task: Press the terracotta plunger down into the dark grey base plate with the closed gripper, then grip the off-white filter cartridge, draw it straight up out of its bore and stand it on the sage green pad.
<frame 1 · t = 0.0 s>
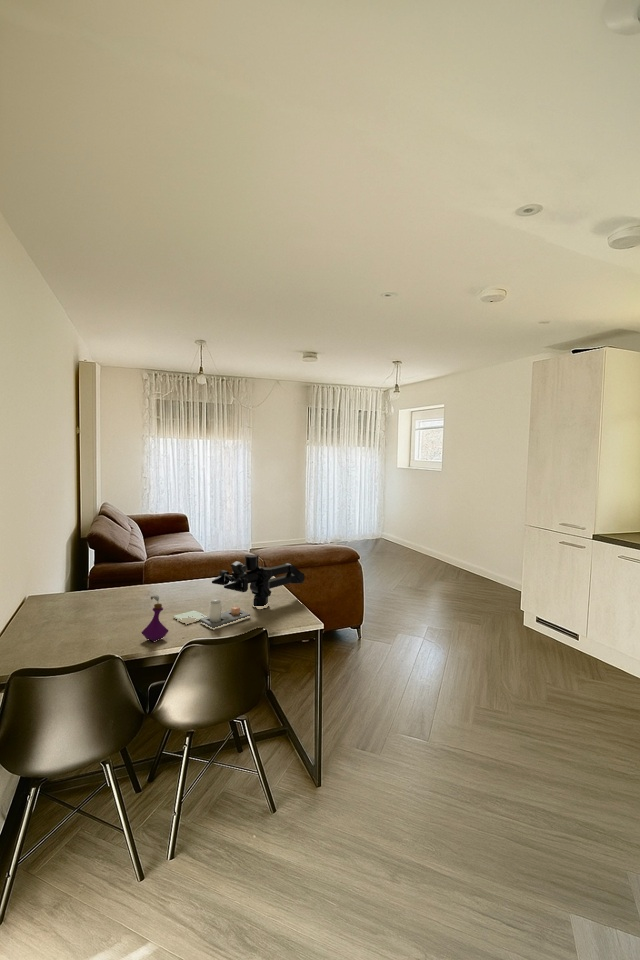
hand: (217, 584, 201), 17 cm above the table, tool horizontal, fingers open, 9 cm apart
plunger: (235, 611, 206), point 3 cm above the table, slide at 0.0 cm
sage pad: (190, 618, 204), on the table
dark grey base plate: (225, 620, 202), on the table
perfume bottle: (155, 639, 181), on the table
filter cartridge: (215, 624, 198), resting in dark grey base plate
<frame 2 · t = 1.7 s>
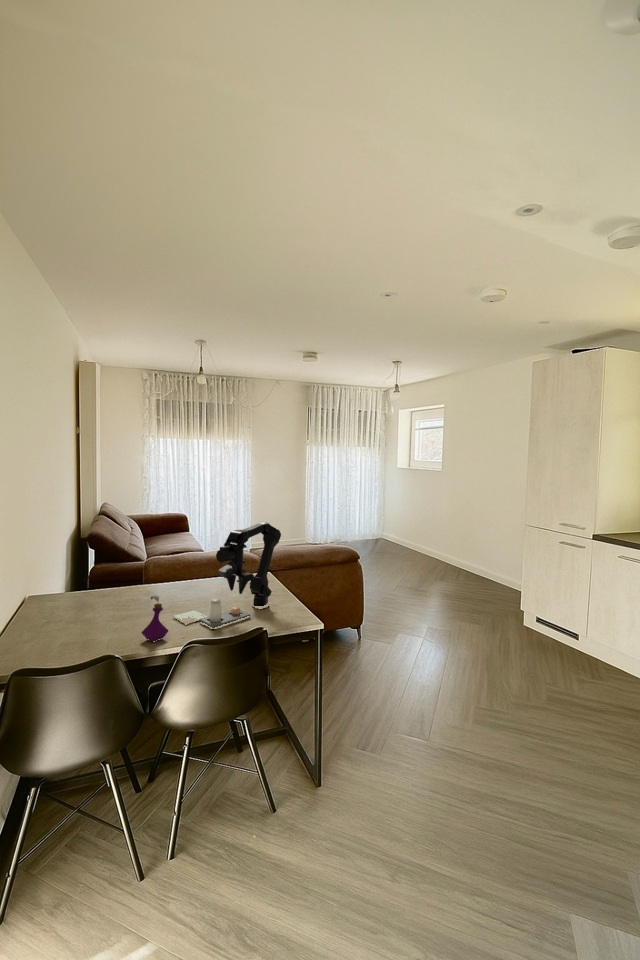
hand: (236, 592, 205), 12 cm above the table, tool pointing down, fingers open, 6 cm apart
nothing on the table moved.
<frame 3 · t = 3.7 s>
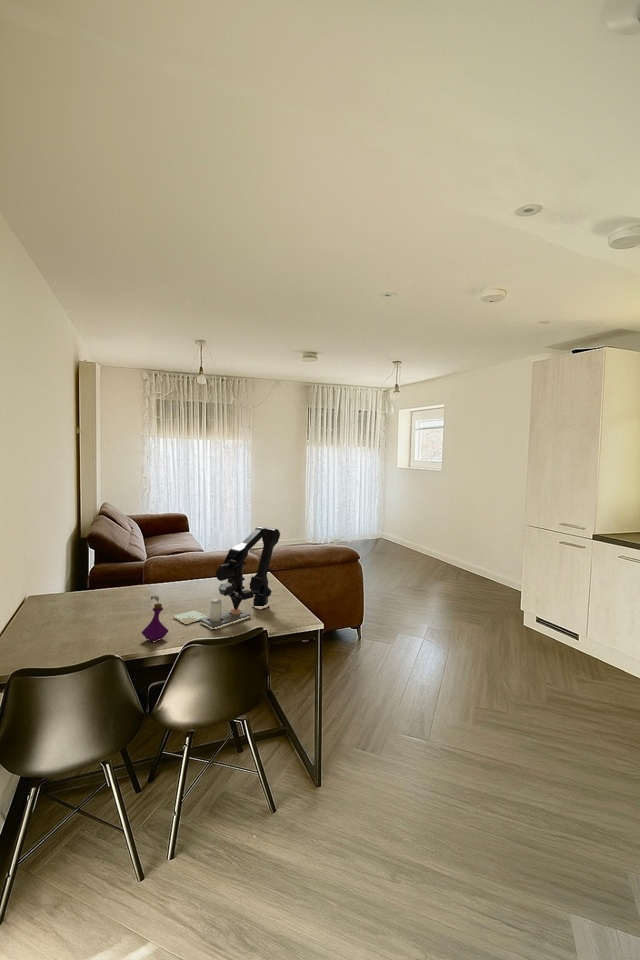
hand: (235, 609, 206), 4 cm above the table, tool pointing down, fingers closed, pressing on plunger
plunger: (235, 612, 206), point 3 cm above the table, slide at 0.5 cm, touching gripper
everything else where it was.
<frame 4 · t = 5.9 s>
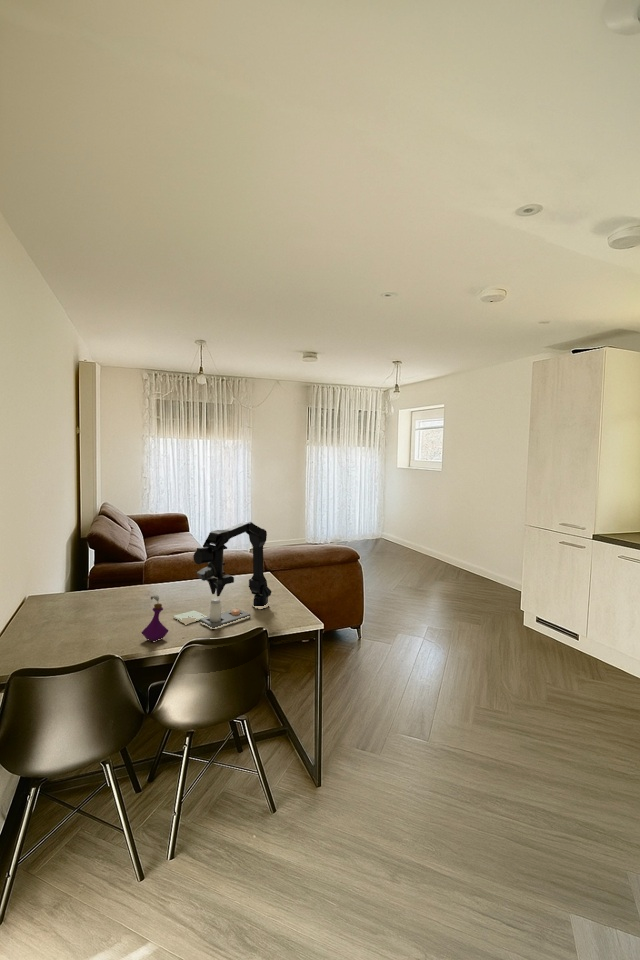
hand: (215, 595, 197), 13 cm above the table, tool pointing down, fingers open, 3 cm apart
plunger: (235, 613, 206), point 2 cm above the table, slide at 1.2 cm
everything else where it was.
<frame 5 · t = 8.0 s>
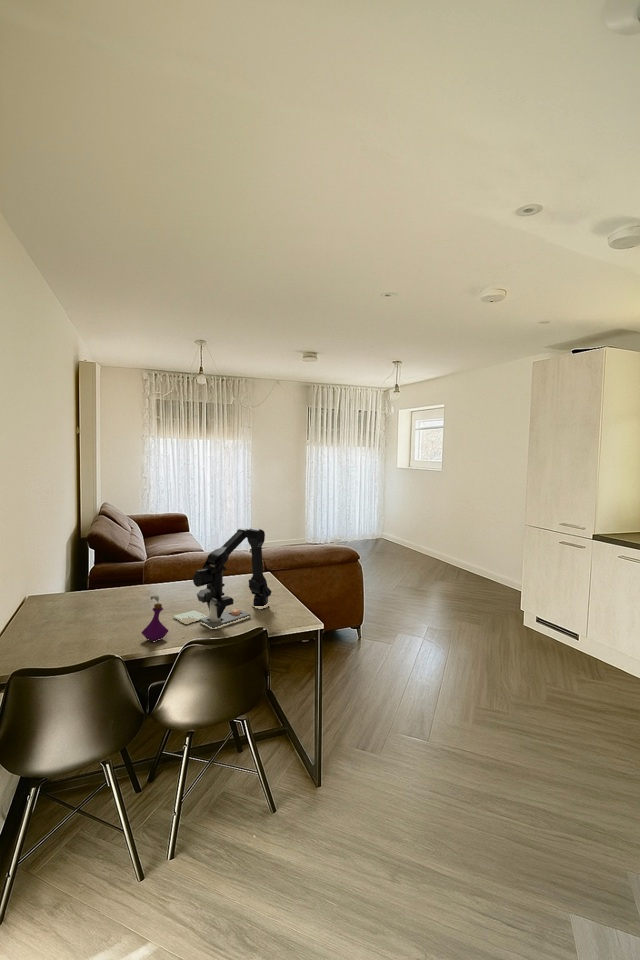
hand: (215, 616, 198), 4 cm above the table, tool pointing down, fingers closed on filter cartridge, 5 cm apart
filter cartridge: (215, 624, 198), resting in dark grey base plate, touching gripper
everything else where it was.
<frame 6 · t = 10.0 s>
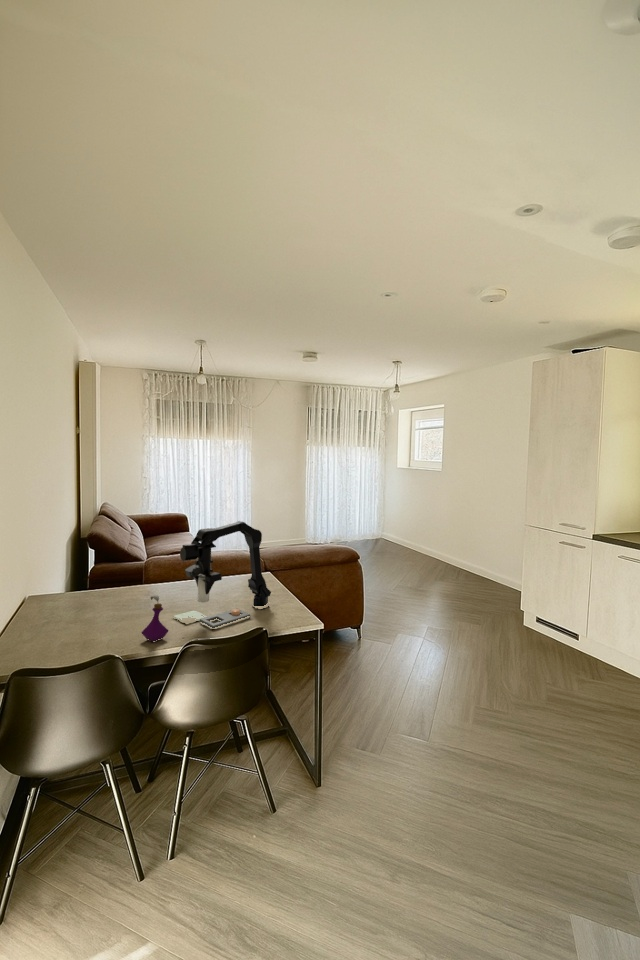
hand: (203, 592, 199), 13 cm above the table, tool pointing down, fingers closed on filter cartridge, 5 cm apart
filter cartridge: (203, 600, 200), point 10 cm above the table, touching gripper
everything else where it was.
when the fingers open (6 cm above the table, at t = 12.1 s): filter cartridge drops 1 cm, resting on sage pad.
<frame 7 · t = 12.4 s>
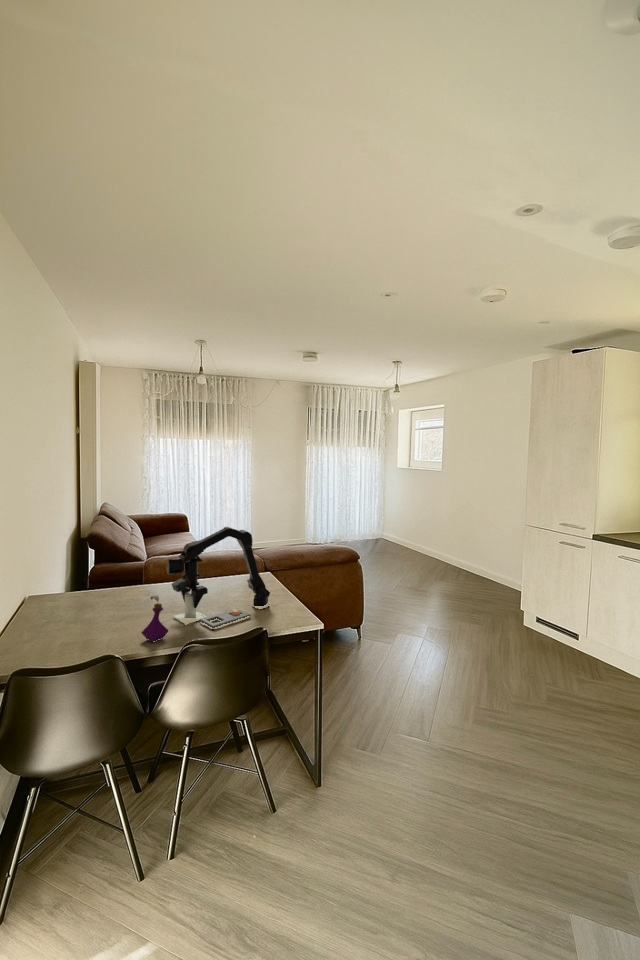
hand: (190, 605, 203), 6 cm above the table, tool pointing down, fingers open, 8 cm apart
filter cartridge: (190, 616, 203), point 1 cm above the table, touching sage pad
everything else where it was.
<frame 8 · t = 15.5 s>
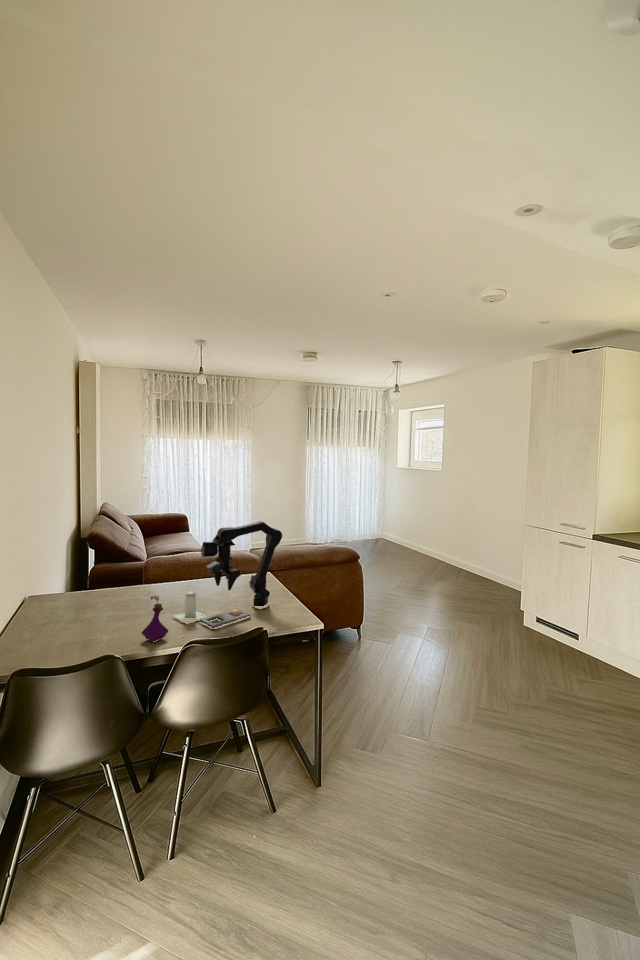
hand: (223, 587, 211), 12 cm above the table, tool pointing down, fingers open, 9 cm apart
nothing on the table moved.
at the end: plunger slide at 1.2 cm; filter cartridge inside the target area on the sage pad (0.0 cm from its centre), point 1.0 cm above the sage pad's base; filter cartridge tilted 1° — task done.
